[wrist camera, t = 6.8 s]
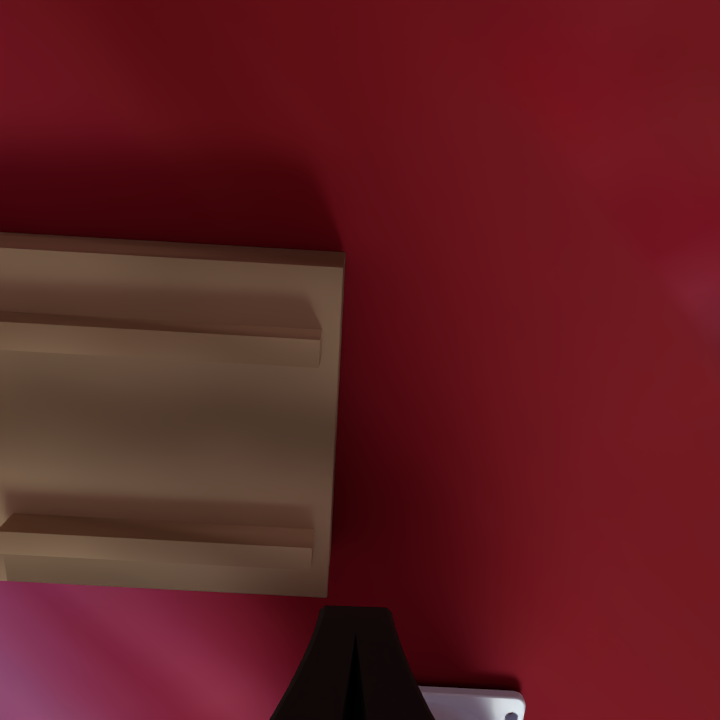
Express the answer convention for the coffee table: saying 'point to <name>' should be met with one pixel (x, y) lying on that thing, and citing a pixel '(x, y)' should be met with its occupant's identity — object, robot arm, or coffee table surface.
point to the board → (168, 414)
